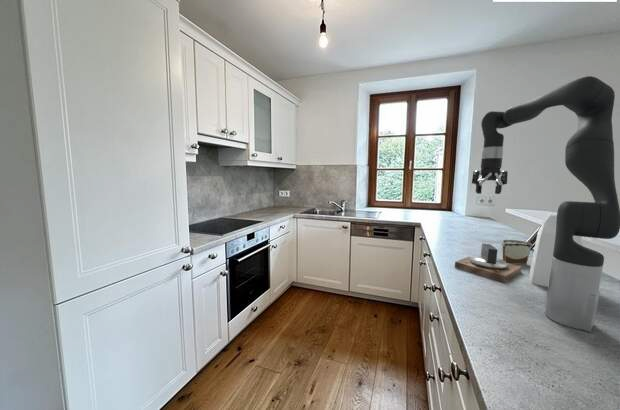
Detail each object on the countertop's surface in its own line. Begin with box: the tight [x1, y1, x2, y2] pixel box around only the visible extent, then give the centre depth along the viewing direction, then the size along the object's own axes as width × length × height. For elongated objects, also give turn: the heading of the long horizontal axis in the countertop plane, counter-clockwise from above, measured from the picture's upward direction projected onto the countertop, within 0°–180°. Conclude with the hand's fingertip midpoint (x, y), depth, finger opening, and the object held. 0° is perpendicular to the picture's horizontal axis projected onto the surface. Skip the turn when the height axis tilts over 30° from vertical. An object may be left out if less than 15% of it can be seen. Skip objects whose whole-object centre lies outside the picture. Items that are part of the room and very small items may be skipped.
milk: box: [528, 213, 583, 288], centre depth 90 cm, size 12×12×26 cm
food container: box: [500, 239, 533, 265], centre depth 114 cm, size 12×6×10 cm, turn 84°
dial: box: [469, 242, 507, 269], centre depth 103 cm, size 13×13×8 cm
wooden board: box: [454, 254, 522, 283], centre depth 104 cm, size 18×18×3 cm
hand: (488, 193), depth 111 cm, fingers open, 8 cm apart
